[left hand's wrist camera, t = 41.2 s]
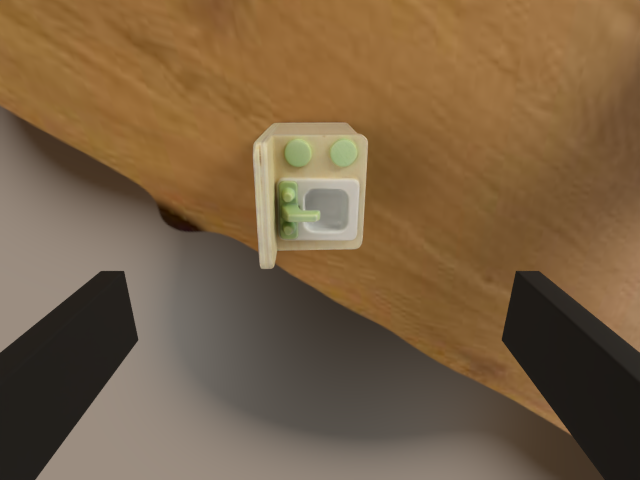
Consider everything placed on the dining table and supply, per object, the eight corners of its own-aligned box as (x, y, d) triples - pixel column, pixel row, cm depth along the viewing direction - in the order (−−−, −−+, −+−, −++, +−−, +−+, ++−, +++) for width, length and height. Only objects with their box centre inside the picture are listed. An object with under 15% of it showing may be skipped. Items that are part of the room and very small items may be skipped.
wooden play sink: (351, 213, 37) (370, 272, 25) (276, 214, 37) (258, 273, 25) (353, 122, 34) (377, 138, 22) (272, 122, 34) (249, 139, 22)
